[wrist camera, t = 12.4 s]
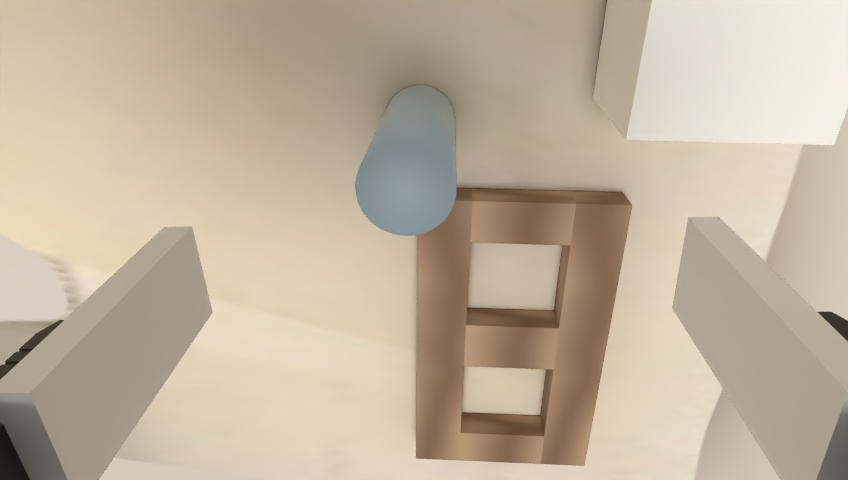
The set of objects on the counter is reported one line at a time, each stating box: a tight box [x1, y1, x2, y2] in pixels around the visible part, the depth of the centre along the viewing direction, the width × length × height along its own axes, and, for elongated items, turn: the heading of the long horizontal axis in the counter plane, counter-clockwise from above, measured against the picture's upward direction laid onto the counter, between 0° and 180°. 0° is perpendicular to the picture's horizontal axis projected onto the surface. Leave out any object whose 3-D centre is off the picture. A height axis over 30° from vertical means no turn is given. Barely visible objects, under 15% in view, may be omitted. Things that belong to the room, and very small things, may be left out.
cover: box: [593, 0, 848, 145], centre depth 26 cm, size 9×9×7 cm
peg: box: [355, 85, 456, 236], centre depth 28 cm, size 4×4×11 cm
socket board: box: [416, 188, 632, 466], centre depth 37 cm, size 12×20×2 cm, turn 179°
